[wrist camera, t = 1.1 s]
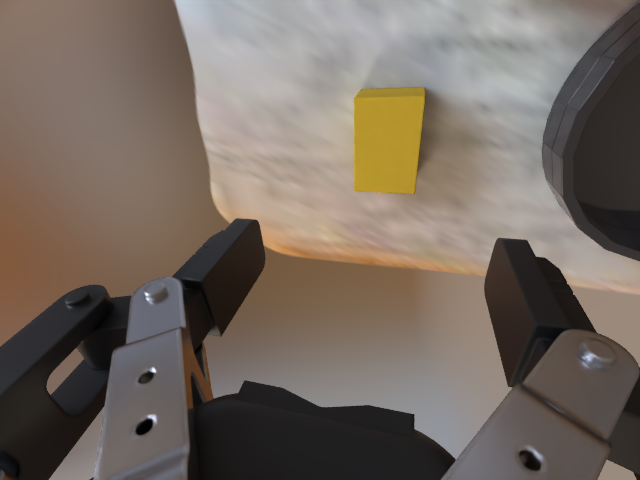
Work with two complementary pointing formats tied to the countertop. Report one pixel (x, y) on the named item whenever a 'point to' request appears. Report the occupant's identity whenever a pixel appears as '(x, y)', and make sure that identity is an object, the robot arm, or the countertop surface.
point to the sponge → (387, 139)
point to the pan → (600, 140)
